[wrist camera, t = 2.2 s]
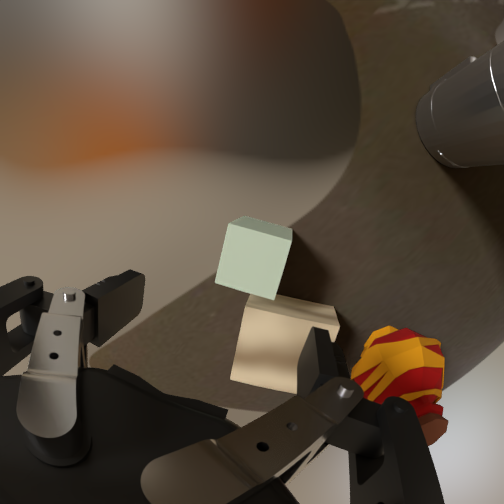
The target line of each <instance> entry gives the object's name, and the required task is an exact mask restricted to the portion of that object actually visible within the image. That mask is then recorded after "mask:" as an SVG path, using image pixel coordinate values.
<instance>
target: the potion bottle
mask: <svg viewBox="0 0 504 504" xmlns="http://www.w3.org/2000/svg"><path fill="white" fill-rule="evenodd" d="M440 346H441V343H440V342H439V341H438V340H437V339H432V338H427V337H425V336H423V335H420V334H418V333H416V332H414V331H412V330H410V329H408V328H404V329H400V330H398V329H396V328H393V327H391V326H387V327H384V328H382V329H379V330H376V331H373V333H372V334H371V336H370V337H369V339H368V340H367V342H366V343H365V344H364V348H365V349H364V350H363V352H362V354H361V357H362V358H361V359H360V360H359V361H358V362H357V363H356V365H355V366H354V367H353V368H352V373H351V380H353V381H355V382H356V383H357V384H359V385H360V386H361V388H362V389H363V392H364V396H363V397H364V398H365V399H368V400H370V401H373V402H376V403H379V404H381V405H382V403H383V402H384V400H385V399H386V398H387V397H390V396H396V397H400V398H403V399H405V400H406V401H408V402H409V403H410V404H411V405H412V406H413V407H414V409H415V412H416V414H417V417H418V420H419V422H420V425H421V428H422V431H423V433H424V436H425V439H426V442H427V445H428V446H429V445H432V444H433V443H435V442H436V441H437V440H438V439H439V438H440V437H441V436H442V435H443V434H444V433H445V432H446V430H447V425H448V420H446V419H445V418H443V417H442V414H443V407H442V406H441V405H438V404H436V403H437V402H438V401H439V400H440V399H441V397H442V390H441V389H442V388H443V382H444V357H443V354H442V352H441V349H440Z"/></svg>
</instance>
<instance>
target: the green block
mask: <svg viewBox="0 0 504 504" xmlns="http://www.w3.org/2000/svg"><path fill="white" fill-rule="evenodd" d="M291 243H292V229H290V228H287V227H283V226H280V225H276V224H273V223H269V222H265V221H261V220H258V219H254V218H251V217H247V216H243V217H241V218H239V219H237V220H235V221H233V222H231V223H229V224H228V228H227V233H226V236H225V241H224V245H223V249H222V254H221V258H220V262H219V267H218V271H217V275H216V280H215V283H217V284H220V285H224V286H227V287H230V288H234V289H237V290H240V291H244V292H247V293H250V294H254V295H257V296H261V297H264V298H267V299H271V300H274V299H275V296H276V293H277V290H278V286H279V283H280V280H281V277H282V273H283V270H284V267H285V263H286V260H287V256H288V253H289V250H290V246H291Z"/></svg>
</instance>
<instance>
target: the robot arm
mask: <svg viewBox="0 0 504 504" xmlns="http://www.w3.org/2000/svg"><path fill="white" fill-rule="evenodd" d="M416 124H417V129H418V133H419V135H420V138H421V140H422V142H423V144H424V146H425V147H426V149H427V150H428V151H429V153H430V154H431V155H432V156H433V157H434V158H435V159H436V160H437V161H438V162H440V163H442V164H443V165H445V166H448V167H451V168H468V167H474V166H488V165H502V164H504V41H503V42H502V43H500V44H498V45H497V46H496V47H494V48H493V49H491V50H490V51H488V52H487V53H485V54H484V55H482V56H481V57H479V58H478V59H477V58H476V57H474V56H470V57H468V58H467V59H466V60H464V61H463V62H461V63H460V64H459V65H457V66H456V67H455V68H453V69H452V70H450V71H449V72H448V73H446V74H445V75H444V76H442V77H441V78H440V79H438V80H437V81H436V82H434V83H433V84H432V85H431V86H430V91H429V92H428V93H427V94H426V95H424V96H423V97H422V98H421V100H420V101H419V103H418V106H417V110H416ZM144 285H145V276H144V274H141V273H139V272H136V271H133V270H128V271H126V272H124V273H122V274H120V275H116V276H111V277H108V278H106V279H104V280H102V281H100V282H98V283H97V284H94V285H92V286H90V287H88V288H86V289H84V290H82V291H81V290H79V289H77V288H72V287H65V288H60V289H58V290H56V291H55V293H54V294H53V293H49V292H45V291H43V281H42V280H41V279H40V278H38V277H34V276H26V277H21V278H19V279H17V280H14V281H12V282H10V283H8V284H6V285H3V286H1V287H0V504H299V502H298V501H297V500H296V499H295V497H294V496H293V495H292V493H291V492H290V491H289V490H288V488H287V487H286V485H288V484H289V483H290V482H291V481H292V480H293V479H294V478H295V477H296V476H297V475H298V474H299V473H300V472H301V471H302V470H303V469H305V468H306V467H307V466H308V465H309V464H310V463H311V462H312V461H313V460H315V459H316V458H317V457H318V456H319V455H320V454H321V453H322V452H323V451H324V450H325V449H326V448H327V447H328V446H329V445H333V446H336V447H338V448H341V449H344V450H347V451H348V454H349V474H350V504H445V503H444V499H443V495H442V492H441V488H440V484H439V480H438V477H437V473H436V470H435V467H434V463H433V460H432V457H431V454H430V451H429V448H428V445H427V442H426V439H425V436H424V433H423V431H422V428H421V425H420V422H419V420H418V417H417V414H416V412H415V409H414V407H413V406H412V405H411V404H410V403H409V402H408V401H406V400H405V399H403V398H400V397H396V396H390V397H387V398H386V399H385V400H384V402H383V403H382V405H381V404H379V403H376V402H373V401H370V400H368V399H365V398H364V397H363V396H364V392H363V389H362V388H361V386H360V385H359V384H357V383H356V382H355V381H353V380H351V379H350V376H349V372H348V368H347V364H346V361H345V358H344V354H343V350H342V349H341V348H340V346H339V345H338V344H337V343H335V342H331V338H330V334H329V330H326V329H322V328H318V327H314V326H313V327H312V328H311V329H310V332H309V334H308V337H307V339H306V342H305V344H304V347H303V349H302V351H301V354H300V357H299V360H298V364H297V395H296V396H294V397H292V398H291V399H289V400H288V401H286V402H285V403H283V404H281V405H280V406H278V407H276V408H275V409H273V410H271V411H270V412H268V413H266V414H265V415H263V416H261V417H260V418H258V419H256V420H254V421H252V422H250V423H249V424H247V425H245V426H243V427H239V426H238V425H237V424H235V423H234V422H232V421H230V420H228V419H226V415H227V412H228V410H227V409H224V408H221V407H218V406H215V405H212V404H208V403H205V402H202V401H200V400H196V399H190V398H184V397H179V396H173V395H168V394H165V393H162V392H161V391H159V390H158V389H156V388H155V387H153V386H152V385H150V384H149V383H148V382H146V381H145V380H143V379H142V378H141V377H139V376H137V375H135V374H133V373H131V372H129V371H127V370H125V369H122V368H120V367H118V366H116V365H113V366H112V367H111V368H110V369H109V370H104V369H99V368H88V365H87V364H88V362H87V344H88V343H89V342H91V343H92V344H94V345H96V346H98V347H100V346H101V345H103V344H104V343H105V342H106V341H107V340H109V339H110V338H111V337H112V336H113V335H115V334H116V333H117V332H118V331H119V330H120V329H122V328H123V327H124V326H126V325H127V324H128V323H129V322H130V321H131V320H133V319H134V318H135V317H136V316H138V314H139V313H140V311H141V309H142V304H143V294H144ZM18 311H19V312H20V318H21V325H19V326H17V327H16V328H14V329H13V330H11V331H10V332H8V333H7V329H6V321H7V319H8V318H9V317H10V316H11V315H13V314H14V313H16V312H18ZM30 353H31V356H30V360H29V365H28V369H27V371H26V372H23V374H22V375H12V376H3V375H4V374H5V373H6V372H8V371H9V370H10V369H11V368H12V367H14V366H15V365H16V364H18V363H19V362H20V361H21V360H23V359H24V358H25V357H27V356H28V355H29V354H30Z"/></svg>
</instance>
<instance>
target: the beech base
mask: <svg viewBox="0 0 504 504" xmlns="http://www.w3.org/2000/svg"><path fill="white" fill-rule="evenodd" d="M313 326H314V327H318V328H322V329H326V330H329V334H330V338H331V342H335V339H336V336H337V334H338V331H339V328H340V325H339V322H338V319H337V315H336V312H335V309H334V306H329V305H324V304H319V303H314V302H310V301H305V300H300V299H296V298H291V297H287V296H282V295H278V294H276V296H275V299H274V300H271V299H267V298H264V297H261V296H257V295H254V294H250V296H249V299H248V301H247V303H246V306H245V310H244V315H243V319H242V324H241V329H240V334H239V339H238V343H237V348H236V353H235V358H234V363H233V367H232V372H231V377H230V379H231V380H235V381H239V382H243V383H247V384H251V385H255V386H260V387H264V388H269V389H274V390H279V391H284V392H290V393H295V394H297V364H298V360H299V357H300V354H301V351H302V349H303V347H304V344H305V342H306V339H307V337H308V334H309V332H310V329H311V328H312V327H313Z"/></svg>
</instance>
